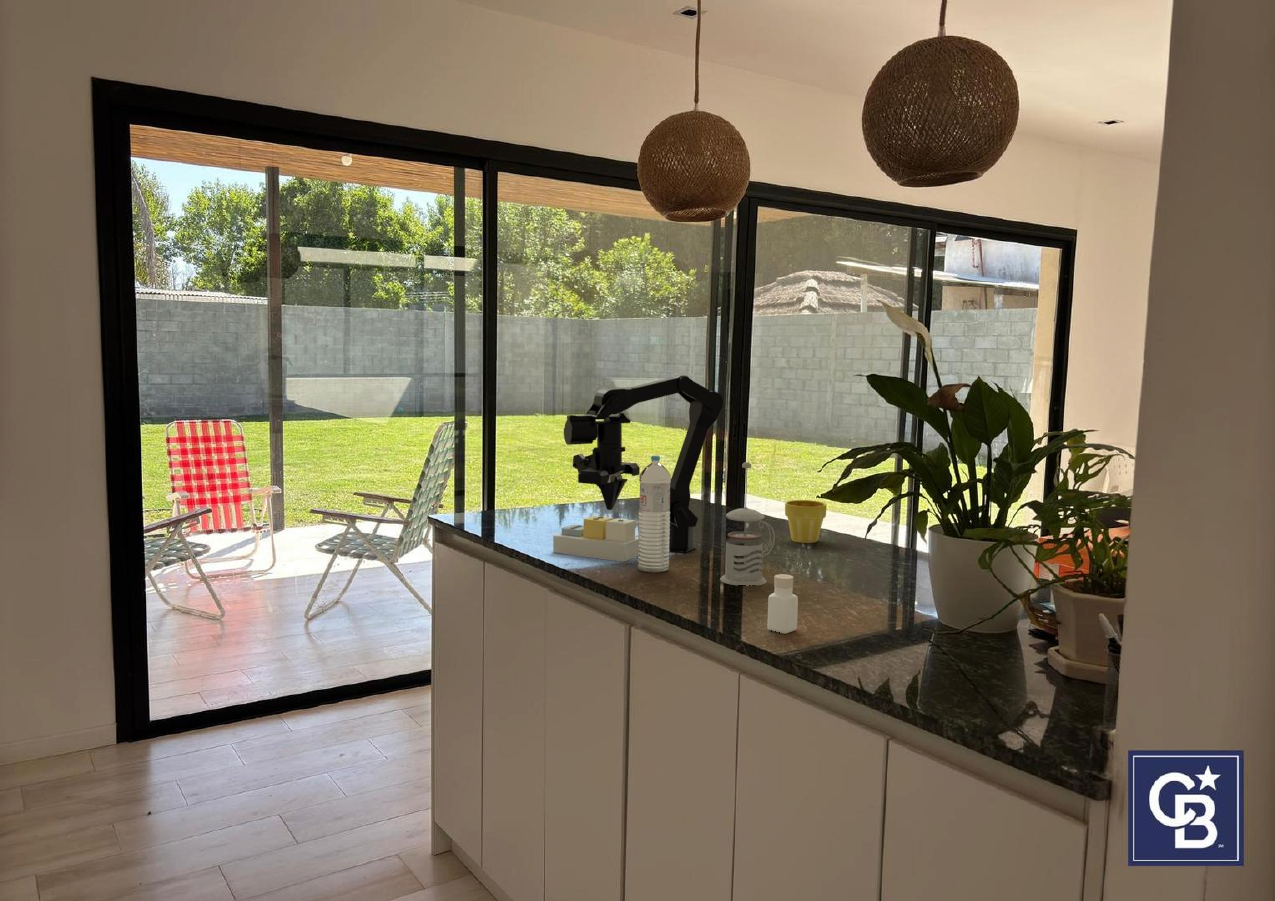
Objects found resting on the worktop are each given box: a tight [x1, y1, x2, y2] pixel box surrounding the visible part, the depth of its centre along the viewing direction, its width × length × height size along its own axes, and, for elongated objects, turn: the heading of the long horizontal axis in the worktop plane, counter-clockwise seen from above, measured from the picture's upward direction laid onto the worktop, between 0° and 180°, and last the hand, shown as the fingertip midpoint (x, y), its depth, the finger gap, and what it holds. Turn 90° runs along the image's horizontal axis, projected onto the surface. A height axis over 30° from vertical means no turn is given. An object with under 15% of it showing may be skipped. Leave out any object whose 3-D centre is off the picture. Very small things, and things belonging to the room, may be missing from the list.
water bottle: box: [637, 455, 672, 574], centre depth 204 cm, size 7×7×25 cm
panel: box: [552, 532, 639, 563], centre depth 220 cm, size 19×9×4 cm, turn 63°
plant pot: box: [784, 499, 827, 544], centre depth 239 cm, size 10×10×10 cm
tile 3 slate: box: [561, 524, 584, 537], centre depth 223 cm, size 5×5×5 cm
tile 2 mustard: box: [583, 515, 614, 540], centre depth 220 cm, size 5×5×5 cm
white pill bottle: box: [766, 573, 799, 635], centre depth 161 cm, size 4×4×10 cm
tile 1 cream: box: [606, 518, 636, 543], centre depth 217 cm, size 5×5×5 cm
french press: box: [719, 461, 776, 587], centre depth 196 cm, size 10×12×25 cm
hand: (609, 509), depth 218 cm, fingers closed
